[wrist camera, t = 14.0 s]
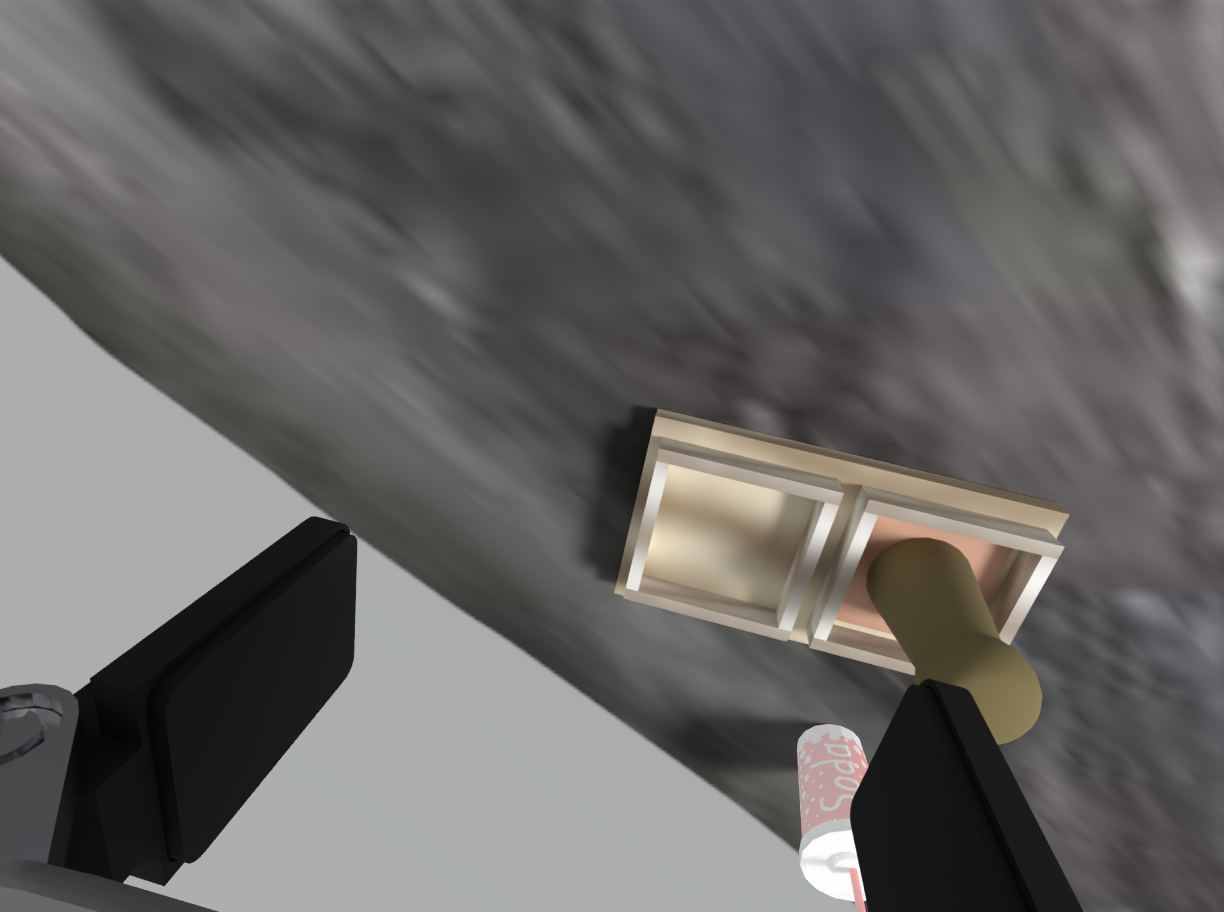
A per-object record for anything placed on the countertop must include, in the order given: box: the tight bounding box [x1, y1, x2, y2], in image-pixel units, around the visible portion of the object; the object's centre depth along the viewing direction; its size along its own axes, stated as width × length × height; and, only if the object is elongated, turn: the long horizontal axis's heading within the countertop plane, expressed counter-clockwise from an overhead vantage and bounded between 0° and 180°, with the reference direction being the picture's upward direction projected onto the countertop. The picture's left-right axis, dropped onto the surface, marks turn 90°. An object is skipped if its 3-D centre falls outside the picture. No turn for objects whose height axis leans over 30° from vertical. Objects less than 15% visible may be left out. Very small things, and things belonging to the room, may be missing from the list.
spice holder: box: [614, 409, 1070, 675], centre depth 38 cm, size 13×24×4 cm, turn 79°
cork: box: [866, 538, 1042, 745], centre depth 32 cm, size 6×6×11 cm
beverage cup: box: [797, 724, 868, 912], centre depth 39 cm, size 6×6×14 cm
